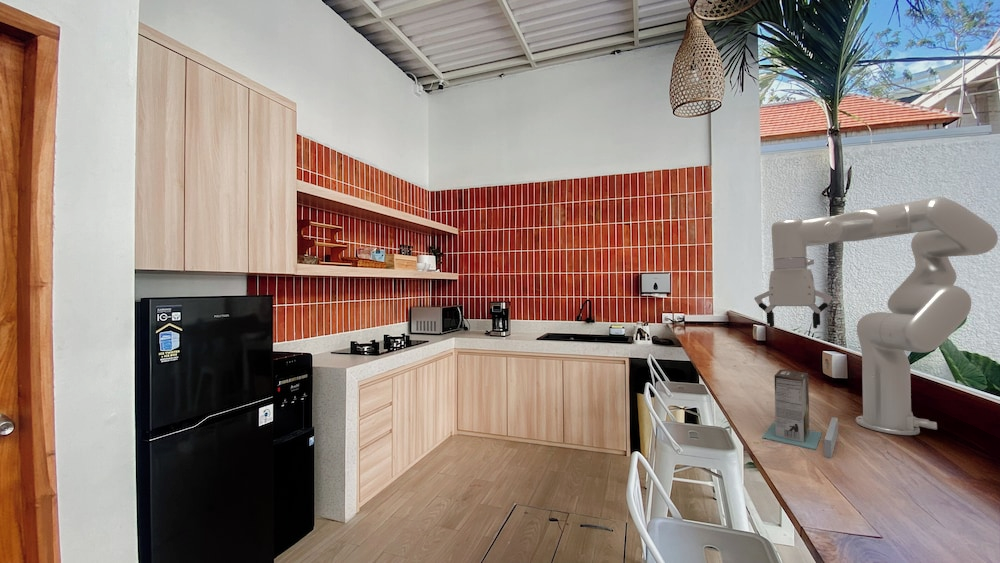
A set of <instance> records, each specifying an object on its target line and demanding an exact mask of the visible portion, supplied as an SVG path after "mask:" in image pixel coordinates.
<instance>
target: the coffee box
mask: <svg viewBox="0 0 1000 563" xmlns="http://www.w3.org/2000/svg"><path fill="white" fill-rule="evenodd" d="M809 395H810V392H809V372H804V371H803V372H802V371H797V370H791V369H779V370H778V371H777V372H776V373H775V374H774V423H775V434H776V436H777V437H781V438H786V439H790V440H795V441H799V442H805V441H806V439H807V436H808V434H809V432H810V430H811V429H810V404H809V403H810V399H809V398H810V396H809Z"/></svg>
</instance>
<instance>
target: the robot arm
mask: <svg viewBox="0 0 1000 563" xmlns="http://www.w3.org/2000/svg"><path fill="white" fill-rule="evenodd" d="M915 233H916V234H915ZM908 234H909V235H910V234H914V235H913V237H912V239H911V244H910V246H911V251H912V254H913V257H914V262H915V266H914V269H913V270H912V271H911V273H910V274H909V275H908V276H907V277H906V279H904V281H903V282H902V283H900V285H899V286H898V287H897V288H896V289H895V290H894V291H893V293H891V295H890V296H889V298H888V301H887V307H888V310H889V311H890V312H886V311H885V312H884V311H883V312H882V311H881V312H880V311H877V312H871V313H868V314H865V315H863V316H862V317H861V318H860V319H859V320H858V322H857V324H856V334H857V338H858V341H859V344H860V349H861V361H862V363H861V365H862V369H861V370H862V371H861V372H862V373H861V374H862V376H861V377H862V380H861V381H862V415H858V416H857V417H855V423H856V424H858V425H860V426H861V427H864V428H867V429H869V430H873V431H877V432H880V433H885V434H891V435H898V436H916V435H919V434H920V433H921V431H920V430H921V429H920V428H924V429H925V428H926V429H929V430H930V429H931V430H938V423H937V421H932V420H931V421H930V419H926V418H918V417H916V416H914V414H913V411H912V398H911V396H912V393H911V392H912V391H911V390H912V388H911V385H912V384H911V383H912V382H911V365H910V361H909V357H908V356H907V354H906V353H905V351H906V352H913V353H919V354H920V353H921V354H923V353H929V352H932V351H934V350H936V349H937V348H939V347H940V346H941V345H942V344H944V342H945V341H946V340H947V339H948V338H949V337H950V336H951V335H952V334H953V333H954V332H955V330H957V328H959V327H960V325H961V324H962V323H964V320H966V319H967V317H968V316H969V315H970V312H971V308H972V298H971V295H970V294H969V293H968V292H967V290H965V289H964V288H962V287H960V286H959V285H955V283H956V280H957V272H956V270H955V268H954V267H953V265H952V263H951V261H950V258H949V257H966V256H978V255H982V254H986V253H988V252H990V251H992V250H993V249H994V248H995V247H996V246H997V243H998V240H999V238H998V233H997V231H996V229H995V228H994V227H993V226H992V224H990V223H989V222H988V221H986V220H984V219H983V218H982V217H980V216H979V215H977V214H975V213H974V212H972V211H971V210H970V209H968V208H966V207H965V206H963V205H962V204H960V203H958V202H956V201H955V200H952V199H949V198H946V197H941V196H940V197H932V198H926V199H925V198H924V199H920V200H915V201H910V202H902V203H897V204H890V205H885V206H878V207H877V206H876V207H870V208H869V207H867V208H864V209H858V210H853V211H850V212H845V213H842V214H837V215H831V216H818V217H814V218H808V219H798V218H797V219H796V218H795V219H784V220H779V221H775V222H774V223H772V225H771V244H772V247H771V248H772V266H773V270H771V271H770V274H769V280H768V281H769V283H768V291H765V292H764V293H761V294H759V295H757V296H755V297H754V301H755V302H756V304H757V305H758V307H759V308H761V310H763V311H764V312H765V313H766V324H767V325H769V328H773V327H774V326H775V314H774V312H773V310H774V309H775V307H809V308H810V310H812V311H813V313H812V328H813V329H814V330H815V329H818V326H821V312H823V311H824V310H825V309H827V308H828V307H829V305H830V303H831V301H832V300H833V296H832V295H830V294H826V293H825V292H822V291H819V290H816V288H815V280H814V276H813V271H812V269H811V268H808V267H809V266H811V265H812V266H814V265H815V259H809V258H808V257H807V255H808V253H807V248H808V247H815V246H816V247H817V246H824V245H828V244H832V243H846V242H859V241H860V242H861V241H867V240H875V239H883V238H888V237H893V236H902V235H908ZM767 297H768V301H769V302H768V303H769V305H768V306H767V305H766V304H765V303H764V302H763V299H765V298H767ZM816 297H819V298H821V299H824V301H823V302H822V304H820V305H817V304H815V303H816Z"/></svg>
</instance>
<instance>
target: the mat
mask: <svg viewBox="0 0 1000 563" xmlns="http://www.w3.org/2000/svg"><path fill="white" fill-rule="evenodd" d="M822 434H823V432H822V431H816V430H811V429H810V432H809V434H808V436H807V439H806V441H805V442H799V441H795V440H790V439H786V438H781V437H777V436H776V434H775V422H772V423H771V424H770V426H769V427H768V428H767V429H766V431H765V432H764V433H763V435H762V437H761V439H763V438H766V439H765V440H768V439H769V440H768V441H772V440H774V441H773V442H777V441H778V442H777V443H783V444H787V445H791V446H796V447H801V448H803V449H804V448H805V449H810V450H814V451H816V450H817V448H818V445H819V442H820V441H821V437H822Z"/></svg>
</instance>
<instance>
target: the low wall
mask: <svg viewBox="0 0 1000 563" xmlns="http://www.w3.org/2000/svg"><path fill="white" fill-rule="evenodd" d="M838 434H839V420H838V417H831V419H830V422H829V425H828V427H827V431H826V433H825V437H824V457H825V458H830V459H832V457H833V454H834V450H835V447H836V446H835V445H836V443H837V439H838Z"/></svg>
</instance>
